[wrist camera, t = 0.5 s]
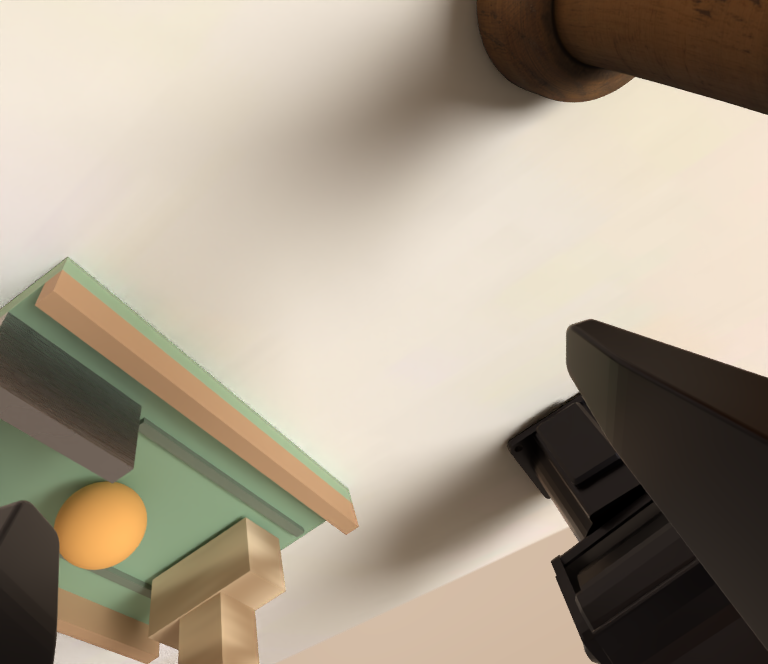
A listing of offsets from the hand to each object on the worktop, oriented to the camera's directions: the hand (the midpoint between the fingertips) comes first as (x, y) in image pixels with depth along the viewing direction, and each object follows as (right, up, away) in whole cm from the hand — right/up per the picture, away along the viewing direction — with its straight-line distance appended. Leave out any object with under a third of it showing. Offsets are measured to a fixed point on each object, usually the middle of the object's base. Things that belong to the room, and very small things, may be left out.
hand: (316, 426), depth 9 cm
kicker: (-8, -10, +20) cm, 24 cm away
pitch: (-11, -5, +17) cm, 21 cm away
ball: (-11, -7, +14) cm, 19 cm away
